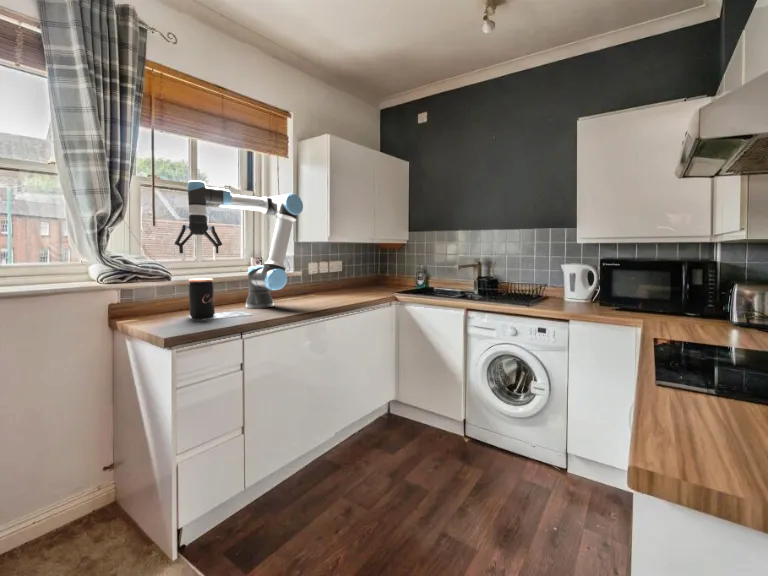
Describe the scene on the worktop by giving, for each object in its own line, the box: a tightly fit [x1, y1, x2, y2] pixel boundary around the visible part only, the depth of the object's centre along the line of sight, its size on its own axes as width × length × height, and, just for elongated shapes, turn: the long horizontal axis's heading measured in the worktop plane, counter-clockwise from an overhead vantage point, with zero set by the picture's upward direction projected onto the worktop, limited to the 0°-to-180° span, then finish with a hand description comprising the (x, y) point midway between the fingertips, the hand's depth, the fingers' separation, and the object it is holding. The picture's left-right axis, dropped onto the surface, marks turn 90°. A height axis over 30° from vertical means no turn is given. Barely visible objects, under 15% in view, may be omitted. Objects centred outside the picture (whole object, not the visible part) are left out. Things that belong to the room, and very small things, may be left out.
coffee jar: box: [188, 277, 216, 318], centre depth 185 cm, size 11×11×18 cm
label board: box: [187, 310, 253, 322], centre depth 191 cm, size 26×16×1 cm, turn 128°
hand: (199, 260), depth 183 cm, fingers open, 13 cm apart
